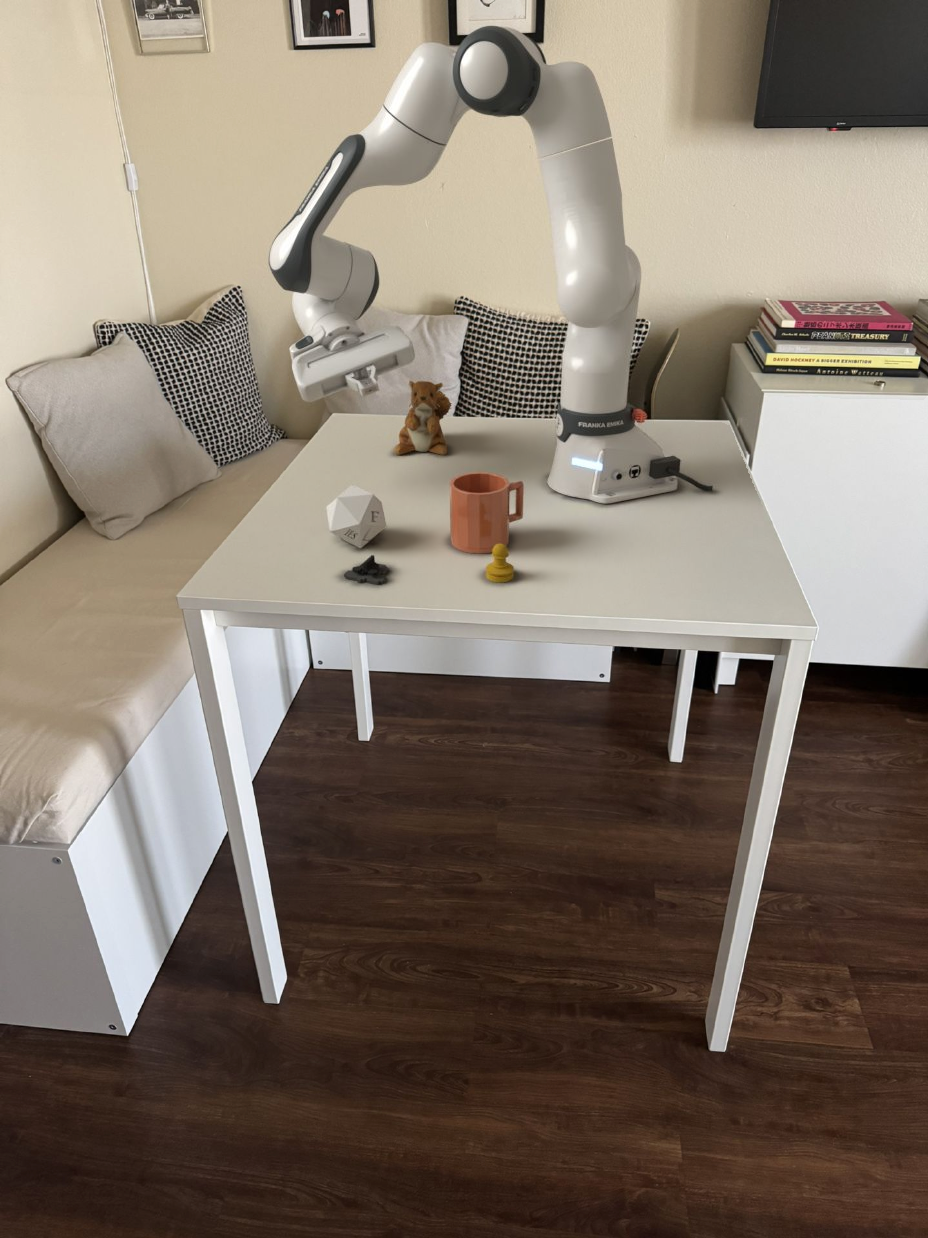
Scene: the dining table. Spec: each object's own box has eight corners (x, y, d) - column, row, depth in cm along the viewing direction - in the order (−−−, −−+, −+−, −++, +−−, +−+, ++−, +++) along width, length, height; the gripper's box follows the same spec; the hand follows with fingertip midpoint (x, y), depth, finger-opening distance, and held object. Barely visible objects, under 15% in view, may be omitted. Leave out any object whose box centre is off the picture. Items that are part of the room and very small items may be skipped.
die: (329, 559, 134) (362, 514, 129) (306, 514, 138) (338, 469, 132) (372, 561, 140) (406, 518, 135) (350, 517, 144) (382, 474, 138)
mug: (471, 558, 132) (471, 498, 128) (440, 537, 139) (438, 479, 134) (538, 538, 138) (540, 480, 133) (505, 519, 145) (506, 463, 140)
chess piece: (494, 567, 130) (494, 536, 127) (518, 573, 128) (519, 541, 126) (480, 578, 127) (480, 546, 124) (505, 584, 125) (505, 552, 123)
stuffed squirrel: (392, 456, 170) (389, 387, 164) (407, 432, 182) (404, 367, 176) (444, 458, 169) (443, 389, 162) (455, 434, 181) (454, 369, 174)
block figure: (395, 554, 128) (378, 571, 124) (396, 569, 130) (379, 586, 125) (358, 548, 130) (340, 564, 126) (359, 562, 132) (341, 579, 127)
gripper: (399, 338, 156) (432, 382, 148) (290, 381, 152) (317, 428, 144) (393, 307, 150) (426, 351, 143) (279, 350, 147) (307, 398, 139)
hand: (370, 390), depth 143 cm, fingers closed
